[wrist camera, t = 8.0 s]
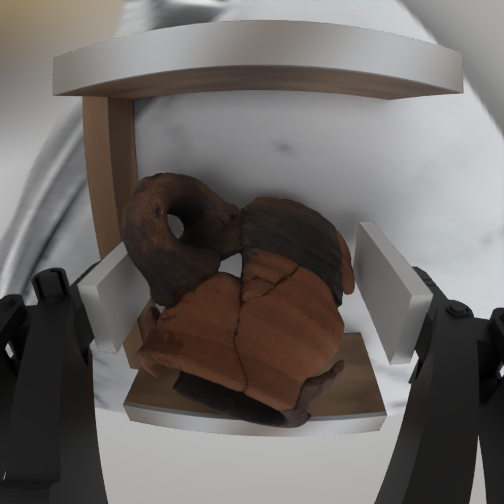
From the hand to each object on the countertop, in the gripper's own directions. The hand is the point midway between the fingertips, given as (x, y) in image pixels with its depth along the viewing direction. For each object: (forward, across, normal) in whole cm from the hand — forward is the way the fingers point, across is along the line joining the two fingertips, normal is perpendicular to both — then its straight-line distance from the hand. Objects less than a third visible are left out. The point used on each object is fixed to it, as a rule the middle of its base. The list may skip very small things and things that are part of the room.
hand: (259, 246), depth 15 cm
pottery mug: (+1, 0, 0) cm, 1 cm away
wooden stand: (+3, 0, 0) cm, 3 cm away
